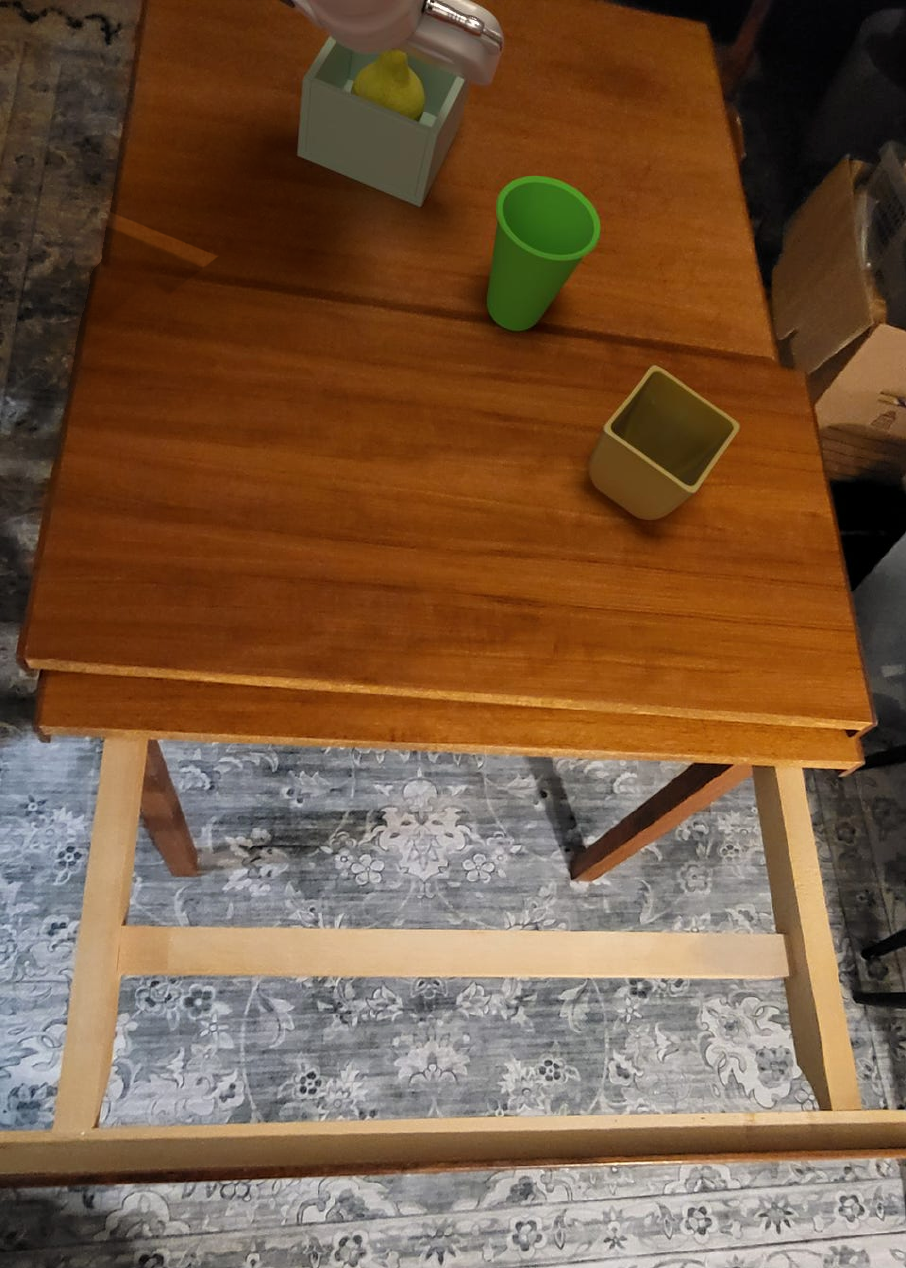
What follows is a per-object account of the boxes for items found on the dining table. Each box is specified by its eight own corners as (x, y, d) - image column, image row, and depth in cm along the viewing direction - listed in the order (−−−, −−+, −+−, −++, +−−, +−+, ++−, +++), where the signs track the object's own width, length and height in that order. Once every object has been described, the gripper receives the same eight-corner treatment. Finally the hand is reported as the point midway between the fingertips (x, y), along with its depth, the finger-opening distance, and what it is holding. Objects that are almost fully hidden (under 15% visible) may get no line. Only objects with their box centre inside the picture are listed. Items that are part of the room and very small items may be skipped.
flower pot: (646, 549, 76) (694, 494, 68) (563, 489, 77) (602, 427, 69) (691, 484, 80) (743, 424, 72) (612, 427, 81) (654, 361, 73)
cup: (480, 352, 81) (515, 260, 71) (454, 274, 84) (483, 175, 74) (570, 345, 83) (615, 255, 73) (542, 270, 86) (581, 173, 76)
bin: (297, 155, 85) (302, 78, 78) (342, 78, 91) (351, -1, 84) (420, 207, 86) (437, 136, 79) (458, 128, 91) (477, 54, 84)
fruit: (372, 99, 89) (390, -27, 78) (429, 135, 89) (456, 14, 78) (333, 134, 86) (347, 7, 75) (393, 171, 86) (415, 50, 75)
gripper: (519, -13, 63) (515, 44, 76) (243, -138, 61) (288, -58, 74) (485, 83, 65) (487, 123, 78) (218, -35, 63) (265, 25, 76)
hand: (388, 34), depth 76 cm, fingers open, 8 cm apart
